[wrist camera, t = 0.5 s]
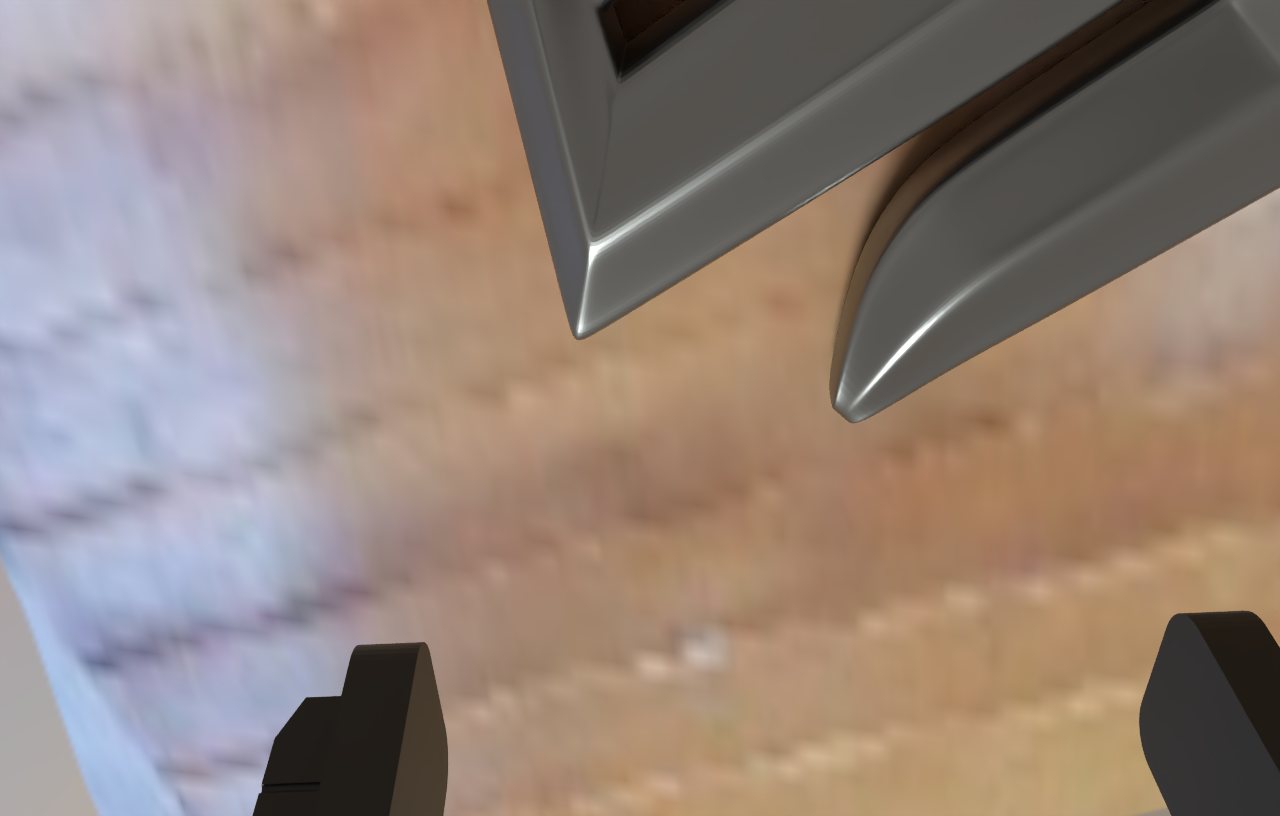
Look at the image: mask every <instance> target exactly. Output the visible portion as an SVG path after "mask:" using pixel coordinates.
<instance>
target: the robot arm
mask: <svg viewBox="0 0 1280 816" xmlns="http://www.w3.org/2000/svg"><path fill="white" fill-rule="evenodd" d="M1139 726H1140V737H1141V742H1142V747H1143V751H1144V755H1145V758H1146V761H1147V763H1148V765H1149V768H1150V770H1151V772H1152V774H1153V777H1154V779H1155V781H1156V783H1157V785H1158V787H1159V790H1160V792H1161V794H1162V796H1163V798H1164V800H1165V803H1166V805H1167V807H1168V809H1169V811H1170V814H1171V816H1280V647H1279V646H1278V644H1277V643H1276V641H1275V639H1274V638H1273V636H1272V635H1271V633H1270V632H1269V630H1268V628H1267V627H1266V625H1265V624H1264V623H1263V621H1262V620H1261V619H1260V618H1259V617H1258V616H1257V615H1256V614H1254V613H1253V612H1250V611H1228V612H1204V613H1180V614H1176V615H1174V616H1173V617H1172V618H1171V619H1170V621H1169V623H1168V625H1167V628H1166V631H1165V634H1164V637H1163V640H1162V643H1161V646H1160V649H1159V652H1158V655H1157V658H1156V661H1155V664H1154V667H1153V670H1152V673H1151V676H1150V679H1149V682H1148V685H1147V688H1146V691H1145V694H1144V697H1143V700H1142V703H1141V707H1140V717H1139ZM447 779H448V746H447V735H446V729H445V724H444V719H443V714H442V709H441V704H440V700H439V695H438V690H437V685H436V680H435V675H434V670H433V665H432V661H431V656H430V652H429V648H428V646H427V644H426V643H425V642H419V643H395V644H371V645H357V646H356V647H355V648H354V650H353V652H352V655H351V658H350V662H349V666H348V670H347V674H346V678H345V683H344V687H343V691H342V695H341V696H331V697H307V698H305V700H304V701H303V702H302V703H301V705H300V706H299V707H298V709H297V710H296V711H295V713H294V714H293V715H292V717H291V718H290V719H289V721H288V722H287V723H286V724H285V726H284V727H283V728H282V730H281V731H280V732H279V734H278V735H277V736H276V738H275V740H274V743H273V747H272V750H271V754H270V757H269V761H268V764H267V768H266V771H265V774H264V778H263V781H262V792H261V793H259V795H258V799H257V802H256V806H255V809H254V813H253V816H443V813H444V806H445V798H446V790H447Z"/></svg>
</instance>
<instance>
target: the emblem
mask: <svg viewBox="0 0 1280 816" xmlns="http://www.w3.org/2000/svg"><path fill="white" fill-rule="evenodd" d="M616 1H617V0H487V3H488V7H489V11H490V15H491V19H492V23H493V27H494V31H495V35H496V39H497V43H498V47H499V51H500V55H501V59H502V63H503V66H504V70H505V74H506V78H507V82H508V86H509V90H510V94H511V98H512V102H513V106H514V110H515V114H516V118H517V122H518V126H519V130H520V134H521V138H522V142H523V146H524V150H525V153H526V157H527V161H528V165H529V169H530V173H531V177H532V181H533V185H534V189H535V193H536V197H537V201H538V205H539V209H540V213H541V217H542V221H543V225H544V229H545V233H546V237H547V241H548V244H549V248H550V252H551V256H552V260H553V264H554V268H555V272H556V276H557V280H558V284H559V288H560V292H561V296H562V300H563V303H564V307H565V311H566V315H567V318H568V322H569V325H570V329H571V331H572V334H573V336H574V338H575V339H576V340H582V339H585V338H587V337H589V336H591V335H593V334H595V333H597V332H599V331H600V330H602V329H604V328H605V327H607V326H609V325H610V324H612V323H614V322H615V321H617V320H619V319H620V318H622V317H624V316H625V315H627V314H629V313H630V312H632V311H633V310H635V309H637V308H638V307H640V306H642V305H643V304H645V303H647V302H648V301H650V300H651V299H653V298H655V297H656V296H658V295H660V294H661V293H663V292H665V291H666V290H668V289H669V288H671V287H673V286H674V285H676V284H678V283H679V282H681V281H683V280H684V279H686V278H687V277H689V276H691V275H692V274H694V273H696V272H697V271H699V270H700V269H702V268H704V267H705V266H707V265H709V264H710V263H712V262H713V261H715V260H717V259H718V258H720V257H722V256H723V255H725V254H727V253H728V252H730V251H731V250H733V249H735V248H736V247H738V246H740V245H741V244H743V243H744V242H746V241H748V240H749V239H751V238H753V237H754V236H756V235H757V234H759V233H761V232H762V231H764V230H765V229H767V228H769V227H770V226H772V225H774V224H775V223H777V222H778V221H780V220H782V219H783V218H785V217H787V216H788V215H790V214H791V213H793V212H795V211H796V210H798V209H799V208H801V207H803V206H804V205H806V204H808V203H809V202H811V201H812V200H814V199H816V198H817V197H819V196H820V195H822V194H824V193H825V192H827V191H828V190H830V189H832V188H833V187H835V186H836V185H838V184H840V183H841V182H843V181H845V180H846V179H848V178H849V177H851V176H853V175H854V174H856V173H857V172H859V171H861V170H862V169H864V168H865V167H867V166H868V165H870V164H872V163H873V162H875V161H876V160H878V159H880V158H881V157H883V156H884V155H886V154H888V153H889V152H891V151H892V150H894V149H896V148H897V147H899V146H900V145H902V144H903V143H905V142H907V141H908V140H910V139H911V138H913V137H915V136H916V135H918V134H919V133H921V132H922V131H924V130H926V129H927V128H929V127H930V126H932V125H933V124H935V123H937V122H938V121H940V120H941V119H943V118H944V117H946V116H948V115H949V114H951V113H952V112H954V111H955V110H957V109H959V108H960V107H962V106H963V105H965V104H966V103H968V102H969V101H971V100H973V99H974V98H976V97H977V96H979V95H980V94H982V93H984V92H985V91H987V90H988V89H990V88H991V87H993V86H994V85H996V84H997V83H999V82H1001V81H1002V80H1004V79H1005V78H1007V77H1008V76H1010V75H1011V74H1013V73H1014V72H1016V71H1018V70H1019V69H1021V68H1022V67H1024V66H1025V65H1027V64H1028V63H1030V62H1031V61H1033V60H1034V59H1036V58H1038V57H1039V56H1041V55H1042V54H1044V53H1045V52H1047V51H1048V50H1050V49H1051V48H1053V47H1054V46H1056V45H1057V44H1059V43H1060V42H1062V41H1064V40H1065V39H1067V38H1068V37H1070V36H1071V35H1073V34H1074V33H1076V32H1077V31H1079V30H1080V29H1082V28H1083V27H1085V26H1086V25H1088V24H1089V23H1091V22H1092V21H1094V20H1095V19H1097V18H1098V17H1100V16H1101V15H1103V14H1104V13H1106V12H1107V11H1109V10H1110V9H1112V8H1113V7H1115V6H1116V5H1118V4H1119V3H1121V2H1122V1H1124V0H685V1H683V2H682V3H681V4H679V5H678V6H677V7H675V8H674V9H673V10H671V11H670V12H669V13H667V14H666V15H665V16H663V17H662V18H661V19H659V20H658V21H657V22H655V23H654V24H653V25H651V26H650V27H649V28H647V29H646V30H645V31H643V32H642V33H641V34H639V35H638V36H637V37H635V38H634V39H632V40H631V41H629V42H626V40H625V38H624V35H623V32H622V29H621V26H620V24H619V21H618V18H617V15H616V12H615V9H614V6H613V4H614V3H615V2H616ZM1278 188H1280V0H1153V1H1151V2H1150V3H1148V4H1147V5H1145V6H1144V7H1142V8H1141V9H1139V10H1138V11H1136V12H1135V13H1133V14H1131V15H1130V16H1128V17H1127V18H1125V19H1124V20H1122V21H1121V22H1119V23H1118V24H1116V25H1115V26H1113V27H1112V28H1110V29H1109V30H1107V31H1106V32H1104V33H1103V34H1101V35H1100V36H1098V37H1097V38H1095V39H1094V40H1092V41H1091V42H1089V43H1088V44H1086V45H1085V46H1083V47H1082V48H1080V49H1079V50H1077V51H1076V52H1074V53H1073V54H1071V55H1070V56H1068V57H1067V58H1065V59H1064V60H1062V61H1061V62H1059V63H1058V64H1056V65H1055V66H1053V67H1052V68H1051V69H1049V70H1048V71H1046V72H1045V73H1043V74H1042V75H1040V76H1039V77H1037V78H1036V79H1034V80H1033V81H1031V82H1030V83H1028V84H1027V85H1026V86H1024V87H1023V88H1021V89H1020V90H1018V91H1017V92H1015V93H1014V94H1012V95H1011V96H1010V97H1008V98H1007V99H1005V100H1004V101H1002V102H1001V103H1000V104H998V105H997V106H995V107H994V108H993V109H991V110H990V111H988V112H987V113H985V114H984V115H983V116H981V117H980V118H978V119H977V120H976V121H974V122H973V123H972V124H970V125H969V126H968V127H966V128H965V129H964V130H962V131H961V132H960V133H958V134H957V135H956V136H954V137H953V138H952V139H951V140H949V141H948V142H947V143H945V144H944V145H943V146H942V147H941V148H939V149H938V150H937V151H936V152H935V153H933V154H932V155H931V156H930V157H929V158H928V159H927V160H925V161H924V162H923V163H922V164H921V165H920V166H919V167H918V168H917V169H916V170H915V171H914V172H913V173H912V174H911V175H910V176H909V177H908V179H907V180H906V181H905V182H904V183H903V184H902V186H901V187H900V188H899V190H898V191H897V192H896V194H895V195H894V196H893V198H892V199H891V201H890V202H889V203H888V205H887V206H886V208H885V210H884V211H883V213H882V214H881V216H880V218H879V219H878V221H877V223H876V224H875V226H874V228H873V230H872V232H871V234H870V236H869V238H868V240H867V242H866V244H865V246H864V248H863V251H862V253H861V255H860V258H859V260H858V263H857V266H856V268H855V271H854V274H853V277H852V280H851V283H850V287H849V290H848V293H847V297H846V300H845V304H844V308H843V312H842V316H841V320H840V324H839V329H838V333H837V338H836V342H835V347H834V353H833V358H832V364H831V371H830V383H829V390H830V398H831V404H832V407H833V409H834V410H835V411H837V412H838V413H839V414H840V415H841V416H842V417H843V418H845V419H846V420H847V421H848V422H850V423H857V422H860V421H863V420H865V419H867V418H869V417H871V416H873V415H875V414H877V413H879V412H880V411H882V410H884V409H886V408H887V407H889V406H891V405H892V404H894V403H896V402H897V401H899V400H901V399H903V398H904V397H906V396H908V395H909V394H911V393H912V392H914V391H916V390H917V389H919V388H921V387H922V386H924V385H926V384H927V383H929V382H931V381H932V380H934V379H936V378H938V377H939V376H941V375H943V374H944V373H946V372H948V371H950V370H951V369H953V368H955V367H957V366H959V365H960V364H962V363H964V362H966V361H967V360H969V359H971V358H973V357H975V356H977V355H978V354H980V353H982V352H984V351H986V350H987V349H989V348H991V347H993V346H995V345H997V344H999V343H1000V342H1002V341H1004V340H1006V339H1008V338H1010V337H1012V336H1013V335H1015V334H1017V333H1019V332H1021V331H1023V330H1024V329H1026V328H1028V327H1030V326H1032V325H1034V324H1035V323H1037V322H1039V321H1041V320H1043V319H1045V318H1046V317H1048V316H1050V315H1052V314H1054V313H1056V312H1057V311H1059V310H1061V309H1063V308H1065V307H1067V306H1068V305H1070V304H1072V303H1074V302H1076V301H1077V300H1079V299H1081V298H1083V297H1085V296H1086V295H1088V294H1090V293H1092V292H1094V291H1095V290H1097V289H1099V288H1101V287H1103V286H1104V285H1106V284H1108V283H1110V282H1112V281H1113V280H1115V279H1117V278H1119V277H1121V276H1122V275H1124V274H1126V273H1128V272H1130V271H1131V270H1133V269H1135V268H1137V267H1139V266H1140V265H1142V264H1144V263H1146V262H1148V261H1149V260H1151V259H1153V258H1155V257H1157V256H1158V255H1160V254H1162V253H1164V252H1166V251H1167V250H1169V249H1171V248H1173V247H1175V246H1176V245H1178V244H1180V243H1182V242H1184V241H1185V240H1187V239H1189V238H1191V237H1192V236H1194V235H1196V234H1198V233H1200V232H1201V231H1203V230H1205V229H1207V228H1209V227H1210V226H1212V225H1214V224H1216V223H1218V222H1219V221H1221V220H1223V219H1225V218H1227V217H1228V216H1230V215H1232V214H1234V213H1235V212H1237V211H1239V210H1241V209H1243V208H1244V207H1246V206H1248V205H1250V204H1252V203H1253V202H1255V201H1257V200H1259V199H1261V198H1262V197H1264V196H1266V195H1268V194H1270V193H1271V192H1273V191H1275V190H1277V189H1278Z"/></svg>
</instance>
